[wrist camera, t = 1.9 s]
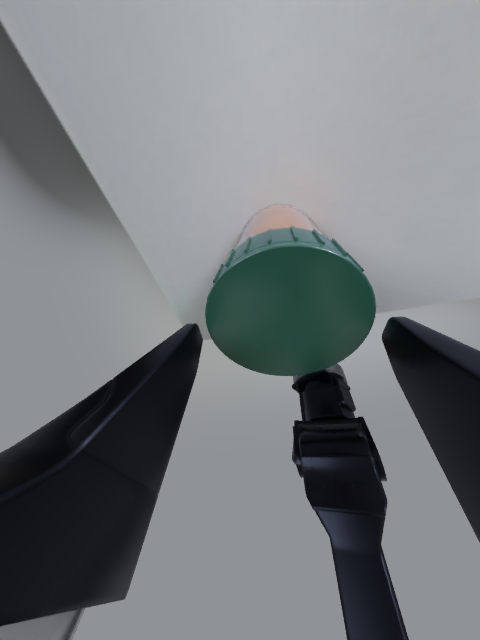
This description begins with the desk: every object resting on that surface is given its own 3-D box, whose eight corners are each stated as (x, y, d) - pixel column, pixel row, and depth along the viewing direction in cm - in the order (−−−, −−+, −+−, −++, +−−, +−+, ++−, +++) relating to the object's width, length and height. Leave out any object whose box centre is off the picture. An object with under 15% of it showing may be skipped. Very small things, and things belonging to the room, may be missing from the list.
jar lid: (281, 359, 12) (283, 391, 10) (193, 302, 10) (177, 330, 8) (386, 292, 8) (417, 324, 7) (280, 183, 6) (283, 188, 5)
